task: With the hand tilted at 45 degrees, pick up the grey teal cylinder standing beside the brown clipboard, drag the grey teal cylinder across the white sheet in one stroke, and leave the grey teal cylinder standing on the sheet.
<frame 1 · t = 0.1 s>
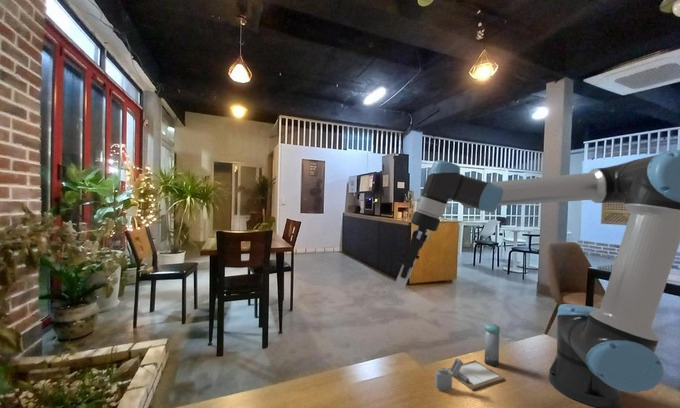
hand: (402, 282, 82), 28 cm above the table, tool tilted 20°, fingers open, 13 cm apart
clipboard: (474, 375, 84), on the table
grey teal cylinder: (491, 363, 91), on the table
lighter: (448, 388, 78), on the table
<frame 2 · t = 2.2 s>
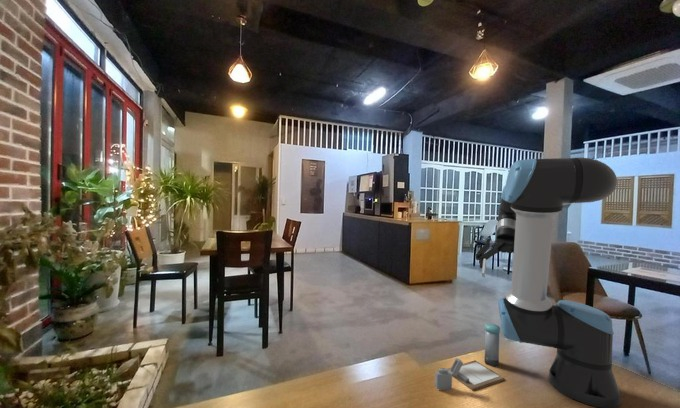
hand: (504, 278, 99), 26 cm above the table, tool tilted 45°, fingers open, 13 cm apart
nothing on the table moved.
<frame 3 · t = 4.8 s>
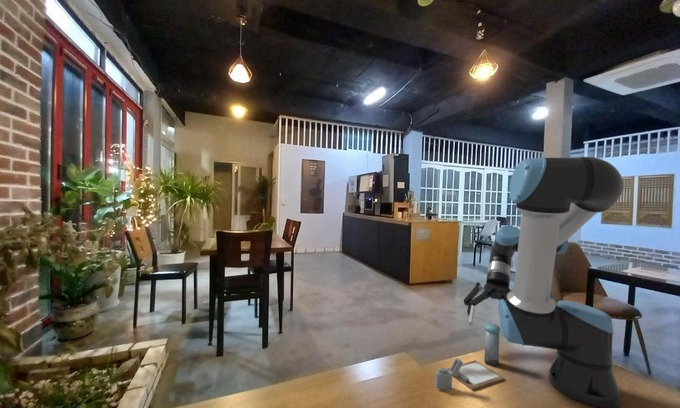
hand: (492, 329, 94), 9 cm above the table, tool tilted 45°, fingers open, 13 cm apart
nothing on the table moved.
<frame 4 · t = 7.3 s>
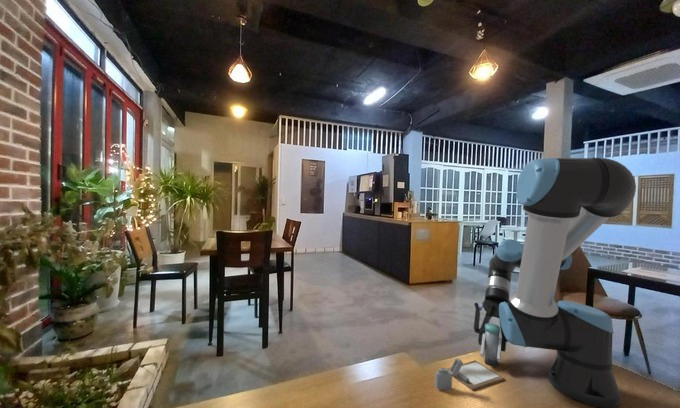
hand: (490, 357, 88), 3 cm above the table, tool tilted 45°, fingers closed on grey teal cylinder, 4 cm apart
grey teal cylinder: (491, 363, 91), on the table, touching gripper
everything else where it was.
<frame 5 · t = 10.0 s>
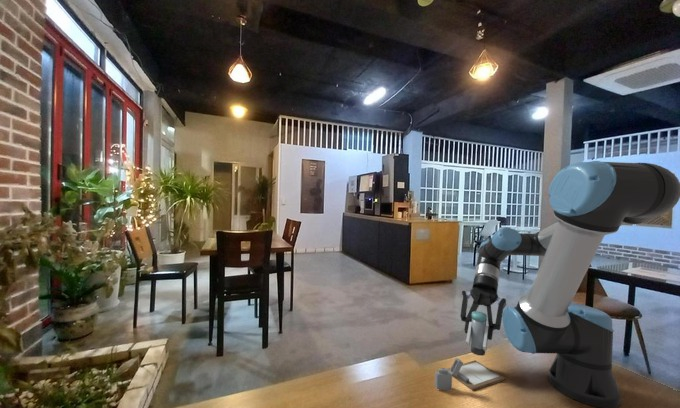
hand: (476, 346, 85), 8 cm above the table, tool tilted 45°, fingers closed on grey teal cylinder, 4 cm apart
grey teal cylinder: (477, 352, 88), point 5 cm above the table, touching gripper
everything else where it was.
when the fingers open (5 cm above the table, at t = 12.8 s): grey teal cylinder stays where it is, resting on clipboard.
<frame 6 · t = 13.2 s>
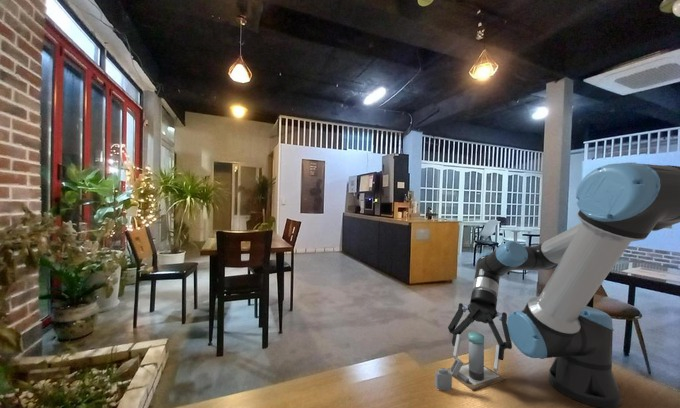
hand: (474, 363, 80), 6 cm above the table, tool tilted 45°, fingers open, 10 cm apart
grey teal cylinder: (476, 376, 82), point 1 cm above the table, touching clipboard
everything else where it was.
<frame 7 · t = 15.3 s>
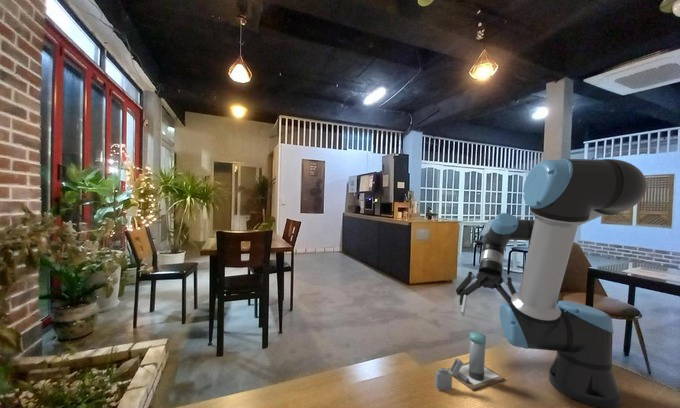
hand: (484, 318, 92), 14 cm above the table, tool tilted 45°, fingers open, 13 cm apart
nothing on the table moved.
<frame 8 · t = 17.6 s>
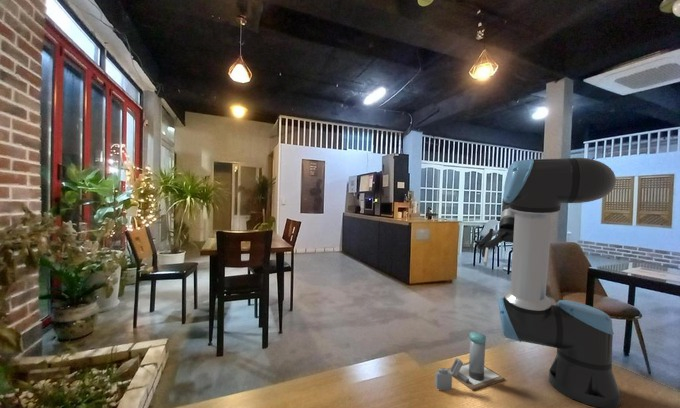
hand: (506, 266, 99), 30 cm above the table, tool tilted 45°, fingers open, 13 cm apart
nothing on the table moved.
at the end: grey teal cylinder inside the target area (1.7 cm from its centre), point 0.7 cm above the table; the gripper is holding nothing; grey teal cylinder moved 12.6 cm from its start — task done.
